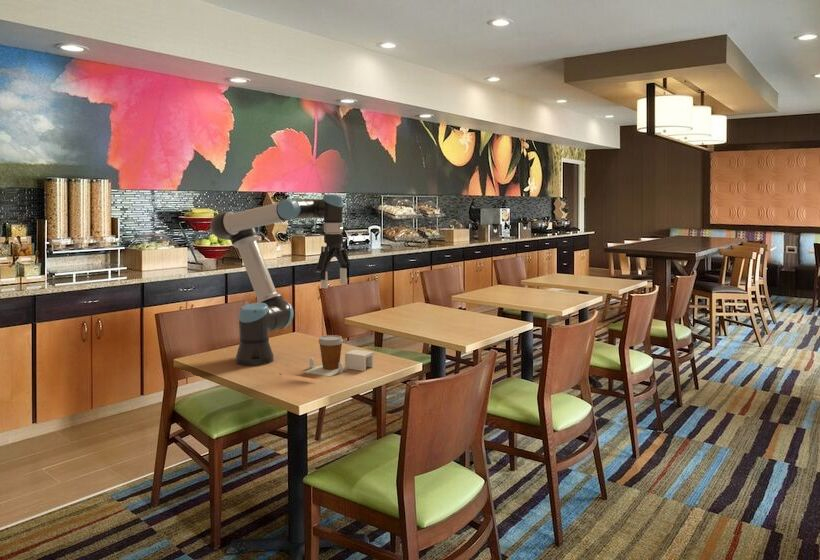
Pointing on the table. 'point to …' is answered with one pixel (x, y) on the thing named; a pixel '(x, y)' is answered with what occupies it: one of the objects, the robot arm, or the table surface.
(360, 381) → the table surface
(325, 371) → the board
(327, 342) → the disposable coffee cup
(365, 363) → the block
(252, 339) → the robot arm
